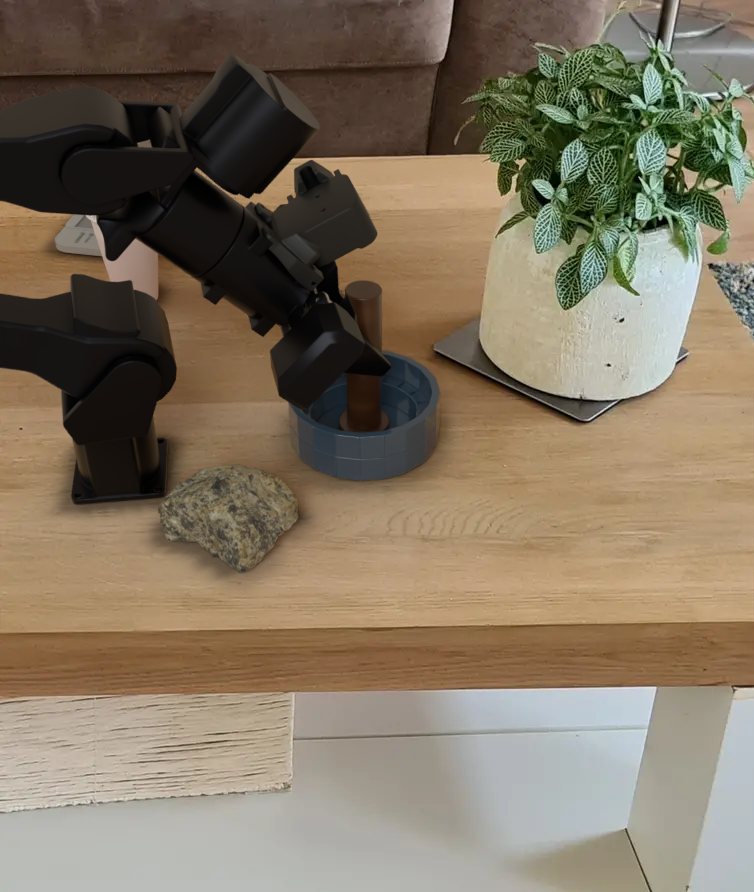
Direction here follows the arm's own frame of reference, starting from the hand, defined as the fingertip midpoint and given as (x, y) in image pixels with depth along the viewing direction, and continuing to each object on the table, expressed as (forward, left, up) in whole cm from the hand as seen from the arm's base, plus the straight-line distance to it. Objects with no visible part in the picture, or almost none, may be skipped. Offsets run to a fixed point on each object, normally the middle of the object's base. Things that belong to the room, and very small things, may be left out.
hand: (382, 359), depth 85 cm
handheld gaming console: (+37, +21, -7) cm, 43 cm away
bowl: (0, +1, -7) cm, 7 cm away
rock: (-10, +11, -7) cm, 17 cm away
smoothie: (+23, +19, -7) cm, 31 cm away
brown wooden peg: (0, +1, -7) cm, 7 cm away
